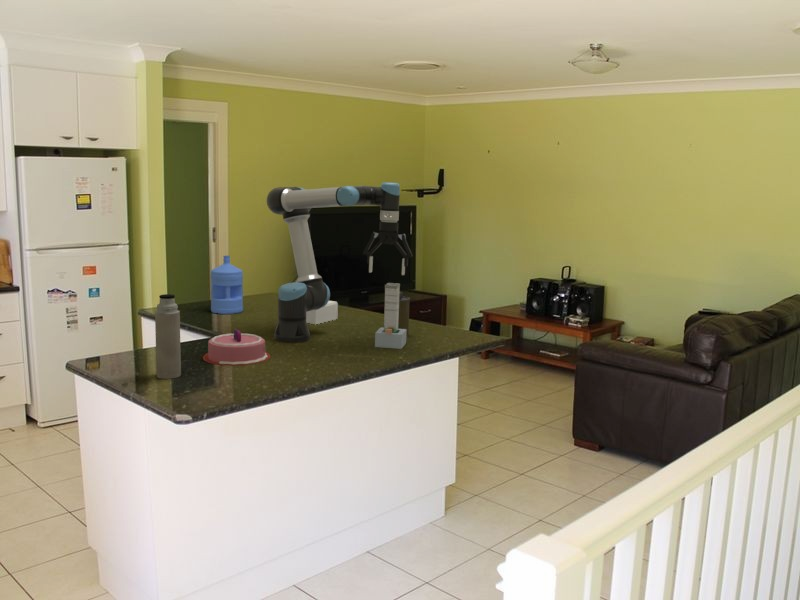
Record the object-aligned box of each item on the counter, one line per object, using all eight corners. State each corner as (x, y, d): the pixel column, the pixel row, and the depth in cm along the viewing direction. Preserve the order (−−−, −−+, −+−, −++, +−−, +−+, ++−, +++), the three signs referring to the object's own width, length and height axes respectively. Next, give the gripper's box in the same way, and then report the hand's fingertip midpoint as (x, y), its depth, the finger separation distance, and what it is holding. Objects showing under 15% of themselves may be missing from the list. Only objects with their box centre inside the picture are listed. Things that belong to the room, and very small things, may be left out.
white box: (315, 325, 340) (315, 291, 338) (285, 320, 349) (285, 287, 347) (337, 319, 355) (338, 287, 352) (308, 315, 364) (308, 283, 362)
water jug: (210, 309, 371) (209, 254, 366) (241, 308, 375) (241, 254, 371) (211, 315, 356) (211, 257, 351) (244, 314, 361) (244, 257, 356)
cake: (279, 362, 273) (279, 334, 271) (212, 369, 261) (212, 340, 259) (258, 347, 295) (258, 321, 293) (195, 353, 283) (195, 326, 281)
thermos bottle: (160, 372, 254) (158, 292, 249) (183, 372, 254) (182, 293, 250) (153, 378, 246) (151, 296, 241) (177, 379, 247) (175, 297, 242)
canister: (406, 340, 315) (407, 294, 311) (382, 338, 317) (383, 293, 313) (411, 335, 325) (412, 290, 322) (388, 333, 327) (389, 289, 324)
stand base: (371, 349, 296) (372, 328, 295) (378, 342, 309) (379, 322, 307) (403, 351, 294) (404, 331, 293) (408, 344, 307) (409, 324, 305)
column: (383, 331, 297) (384, 285, 294) (386, 328, 304) (388, 282, 301) (395, 332, 296) (397, 285, 293) (398, 329, 303) (400, 283, 300)
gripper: (356, 219, 293) (354, 272, 297) (418, 223, 289) (415, 276, 293) (361, 218, 301) (359, 269, 305) (421, 222, 296) (418, 274, 300)
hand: (386, 273), depth 299 cm, fingers open, 13 cm apart
